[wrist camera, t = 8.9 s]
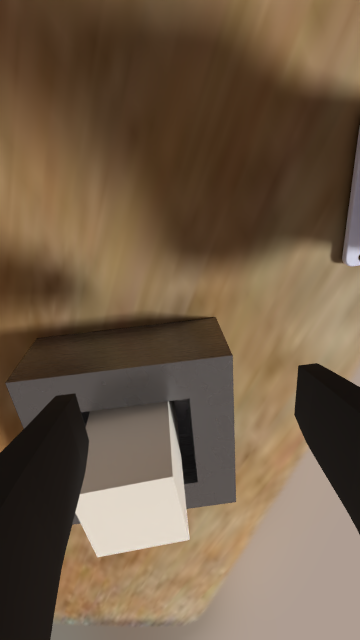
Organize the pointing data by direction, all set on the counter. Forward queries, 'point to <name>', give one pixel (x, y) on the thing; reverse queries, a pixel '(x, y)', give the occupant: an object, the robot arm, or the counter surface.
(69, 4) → the counter surface
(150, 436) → the ivory block
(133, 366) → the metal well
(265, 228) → the counter surface
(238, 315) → the counter surface
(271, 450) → the counter surface
